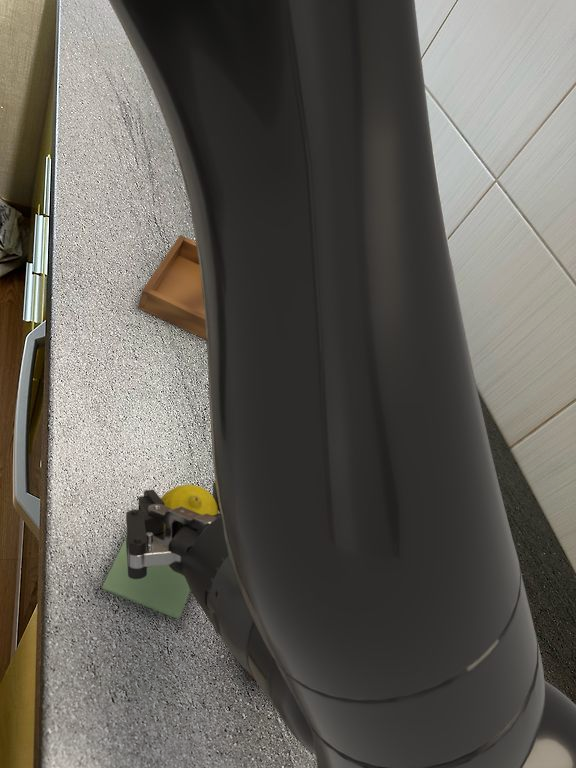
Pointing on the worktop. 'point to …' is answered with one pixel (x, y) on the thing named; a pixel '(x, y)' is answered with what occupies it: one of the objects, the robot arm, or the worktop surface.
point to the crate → (177, 289)
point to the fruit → (191, 499)
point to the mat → (149, 586)
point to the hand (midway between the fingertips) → (183, 496)
